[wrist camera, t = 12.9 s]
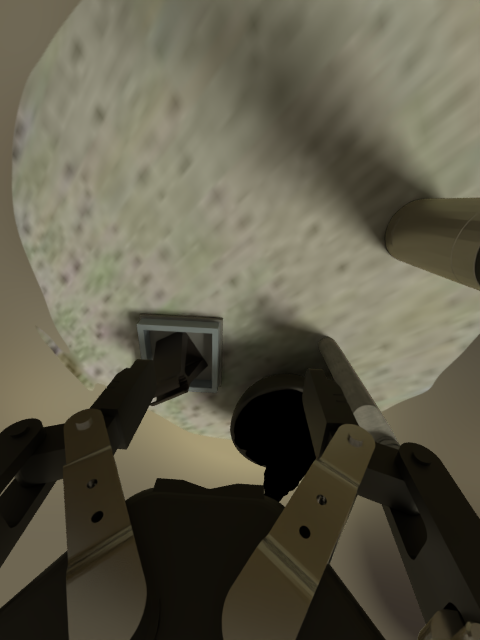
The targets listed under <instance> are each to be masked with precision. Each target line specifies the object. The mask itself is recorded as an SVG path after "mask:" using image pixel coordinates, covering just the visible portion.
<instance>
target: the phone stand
mask: <svg viewBox="0 0 480 640" xmlns="http://www.w3.org/2000/svg"><path fill="white" fill-rule="evenodd" d="M153 362H154V368H155V376H156V383H157V387H156V393H155V395H154V398H155V397H157V400H156V401H155V402H153V403H150V405H151V406H155V405H157V404H160V403H162V402H165V401H167V400H170V399H172V398H175V397H177V396H179V395H182V394H184V393H187V392H188V390H189V386H190V383H191V382H192V381H193V380H194V379H195V378H196V377H197V376H198V375H199V374H200V373H201V372H202V371H203V370H204V369H205V368H206V367H207V366H208V364H207V362H206V361H205V359H204V358H203V356H202V355H201V353H200V352H199V350H198V349H197V348H196V346H195V345H194V343H193V342H192V340H191V339H190V337H189V336H188V334H187V333H186V332H175V333H173V334H171V335H169V336H167V337H165V338H163V339H161V340H159V341H156V346H155V352H154V359H153Z"/></svg>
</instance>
